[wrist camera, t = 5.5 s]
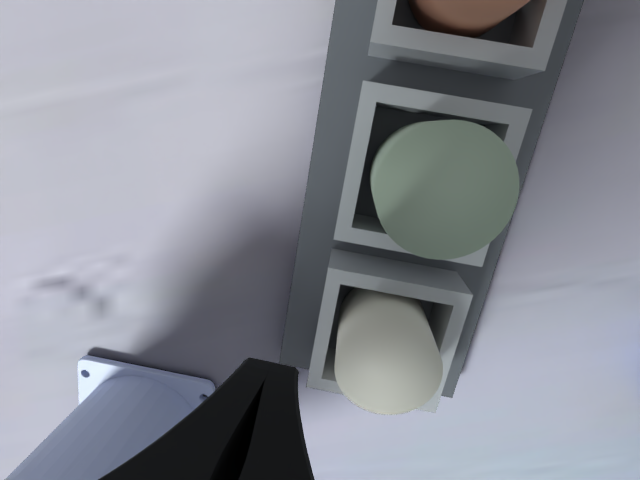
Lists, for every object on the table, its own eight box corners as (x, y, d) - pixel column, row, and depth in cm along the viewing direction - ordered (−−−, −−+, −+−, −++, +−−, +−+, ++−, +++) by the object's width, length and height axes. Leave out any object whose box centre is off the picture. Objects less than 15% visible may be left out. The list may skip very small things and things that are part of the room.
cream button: (412, 361, 18) (427, 424, 14) (332, 346, 18) (326, 403, 15) (433, 288, 17) (455, 334, 13) (347, 272, 17) (345, 313, 13)
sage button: (458, 234, 15) (494, 271, 11) (360, 216, 15) (362, 246, 11) (488, 131, 14) (539, 133, 10) (381, 113, 14) (391, 107, 10)
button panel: (446, 382, 20) (465, 436, 17) (283, 350, 21) (268, 396, 17) (603, -105, 14) (689, -185, 10) (360, -140, 14) (362, -230, 11)
